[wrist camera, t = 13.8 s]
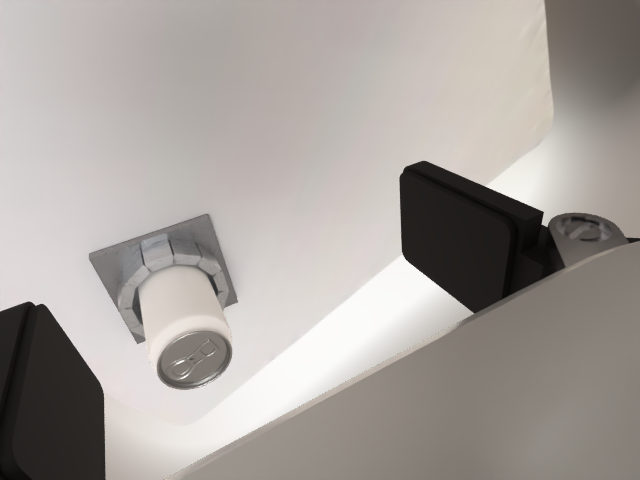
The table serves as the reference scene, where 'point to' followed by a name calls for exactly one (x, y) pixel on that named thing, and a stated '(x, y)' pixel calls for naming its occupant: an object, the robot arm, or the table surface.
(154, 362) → the can
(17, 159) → the table surface
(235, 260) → the table surface
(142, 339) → the duct collar
